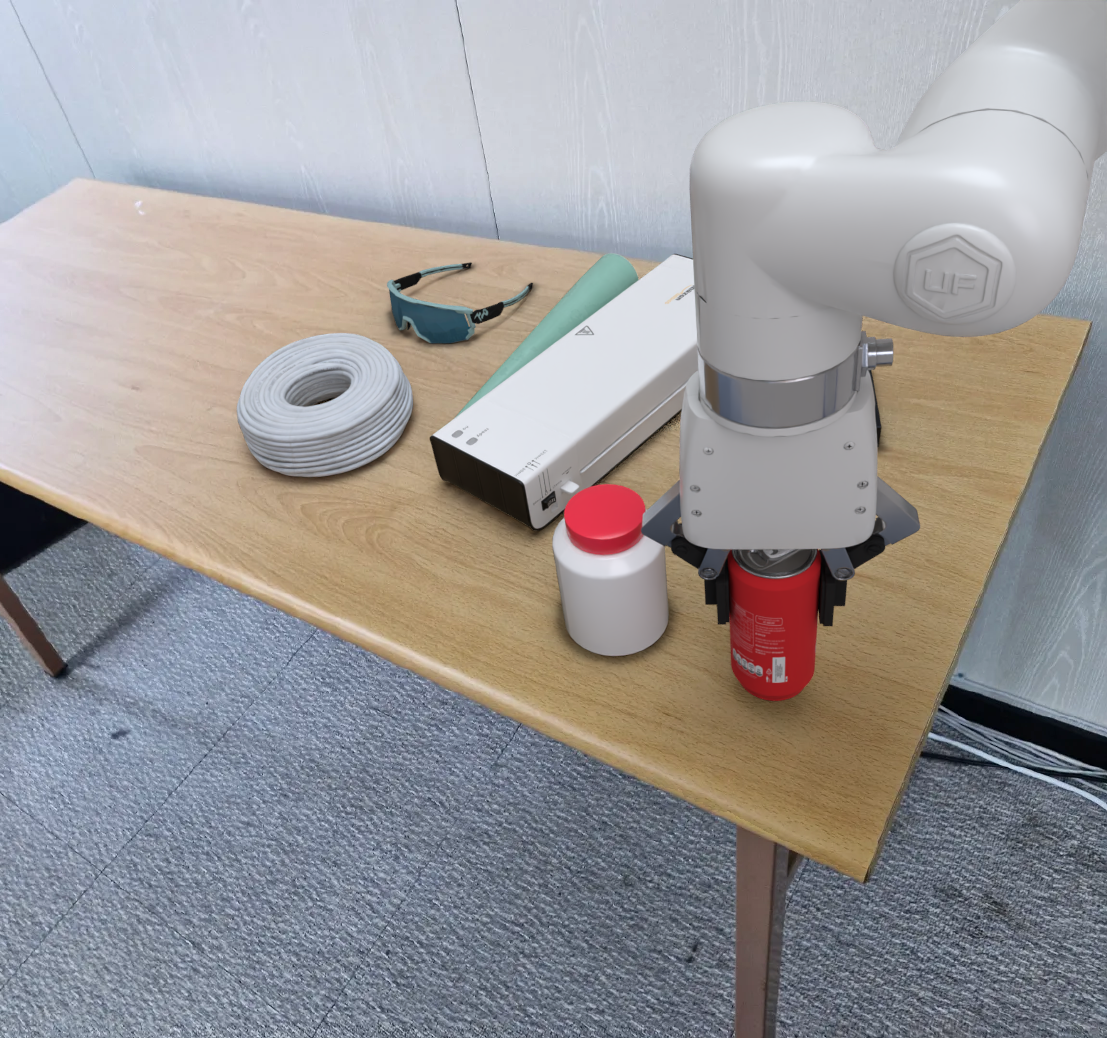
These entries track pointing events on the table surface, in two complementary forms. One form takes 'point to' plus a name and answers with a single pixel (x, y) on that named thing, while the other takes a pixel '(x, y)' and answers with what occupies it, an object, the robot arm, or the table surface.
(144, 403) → the table surface
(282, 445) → the cable
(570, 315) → the long green cone
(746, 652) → the beverage can
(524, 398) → the laminator
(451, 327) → the sunglasses
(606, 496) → the pill bottle
